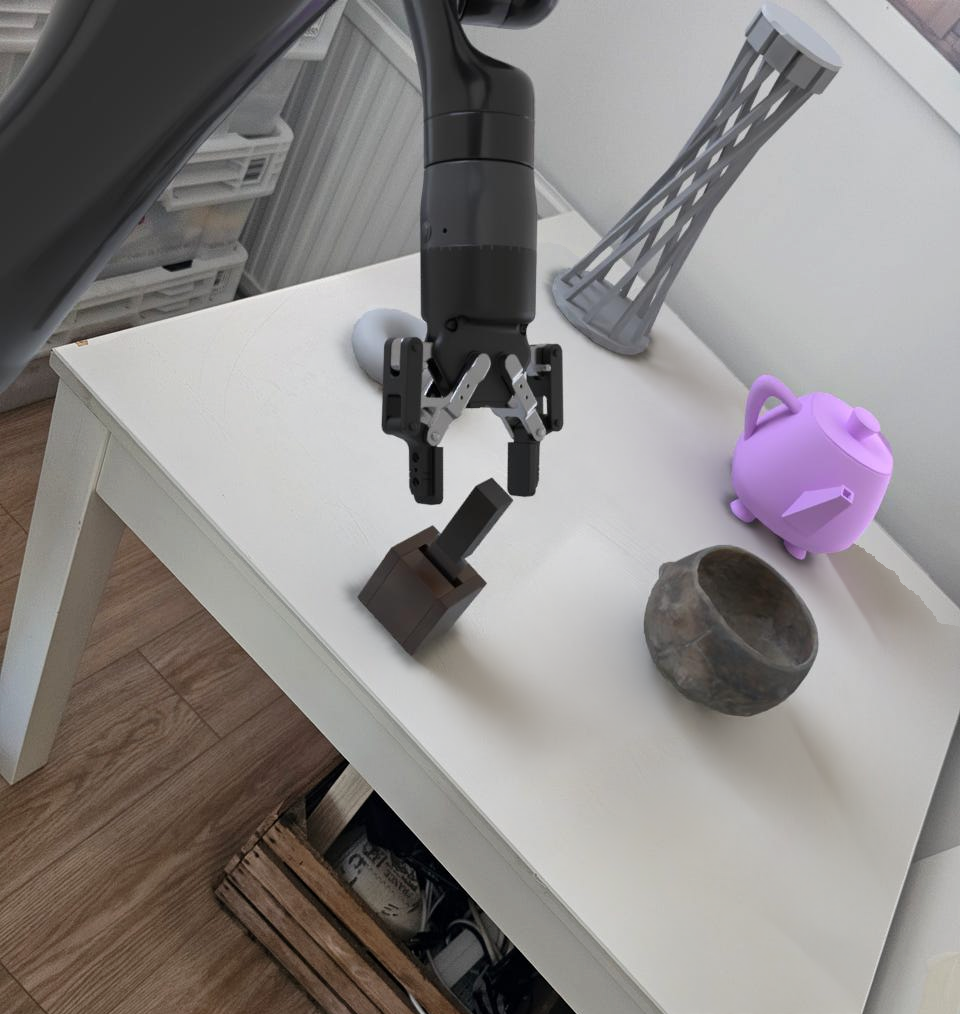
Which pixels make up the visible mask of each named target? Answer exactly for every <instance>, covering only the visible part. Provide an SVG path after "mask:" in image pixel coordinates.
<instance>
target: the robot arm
mask: <svg viewBox="0 0 960 1014" xmlns="http://www.w3.org/2000/svg"><path fill="white" fill-rule="evenodd" d="M339 1H340V0H53V2H52V5H51V8H50V11H49V13H48V16H47V19H46V21H45V23H44V25H43V27H42V30H41V31H40V34H39V35H38V38H37V41H36V42H35V45H34V47H33V49H32V50H31V52H30V54H29V56H28V57H27V59H26V60H25V62H24V64H23V66H22V67H21V69H20V71H19V72H18V73H17V75H16V77H15V78H14V79H13V81H12V82H11V84H9V86H8V87H7V89H6V90H5V91H4V93H2V96H1V97H0V396H1V395H2V394H3V393H4V392H5V391H7V389H8V388H9V387H10V386H11V385H12V384H13V382H14V381H15V380H16V379H17V378H18V377H19V375H20V374H21V373H22V372H23V371H24V370H25V369H26V367H27V366H28V365H29V364H30V362H32V361H33V359H34V358H35V356H37V354H38V352H40V351H41V349H42V348H43V347H44V346H45V344H46V343H47V341H48V340H49V339H50V338H51V337H52V335H53V334H54V333H55V332H56V330H57V329H58V328H59V327H60V325H61V324H62V323H63V321H65V319H66V318H67V316H68V315H69V314H70V312H71V311H72V310H73V308H74V307H75V306H76V305H77V303H78V302H79V301H80V299H81V298H82V297H83V295H84V294H85V293H86V292H87V290H88V289H89V288H90V286H91V285H92V284H93V283H94V281H95V280H96V279H97V277H98V276H99V275H100V274H101V272H102V271H103V270H104V268H105V267H106V266H107V265H108V264H109V262H110V261H111V259H112V258H113V257H114V256H115V254H116V253H117V252H118V251H119V249H120V248H121V247H122V246H123V244H124V243H125V242H126V240H127V239H128V238H129V237H130V235H131V234H132V232H133V231H134V230H135V229H136V228H137V226H138V225H139V223H141V222H142V219H143V218H144V217H145V216H146V215H147V213H148V212H149V211H150V209H152V207H153V205H155V203H156V202H157V201H158V199H159V198H160V197H161V195H162V194H163V193H164V192H165V190H166V189H167V188H168V187H169V186H170V184H171V183H172V181H174V179H175V178H176V177H177V175H178V174H179V173H180V172H181V171H182V170H183V168H184V167H185V166H186V164H187V163H189V161H190V160H191V159H192V157H193V156H194V155H195V154H196V152H197V151H198V150H199V149H200V148H201V147H202V145H204V144H205V142H206V141H207V140H208V139H209V138H210V137H211V136H212V135H213V134H214V132H216V130H217V129H218V128H219V127H220V126H221V125H222V123H224V121H225V120H226V119H227V118H228V117H229V116H230V115H231V114H232V113H233V111H234V110H235V109H237V107H238V106H240V104H241V103H242V101H244V99H245V98H246V97H247V96H248V95H249V94H250V93H251V92H252V91H253V90H254V89H255V87H257V85H259V83H260V82H261V81H262V80H263V79H264V78H265V77H266V76H267V74H268V73H269V72H270V71H271V70H272V69H273V68H274V67H275V66H276V65H277V64H278V63H279V62H280V60H282V58H283V57H284V56H285V55H286V54H288V52H290V50H291V49H292V48H293V47H294V46H295V45H296V44H297V43H298V42H299V41H300V40H301V39H302V38H303V37H304V35H305V34H306V33H308V31H310V29H311V28H312V27H314V26H315V24H316V23H317V22H319V20H320V19H322V18H323V16H325V14H327V12H328V11H329V10H331V9H332V7H334V6H335V5H336V4H337V3H338V2H339ZM400 2H401V5H402V9H403V13H404V16H405V20H406V22H407V26H408V31H409V34H410V38H411V41H412V47H413V50H414V55H415V56H414V57H415V60H416V61H415V62H416V65H417V71H418V75H419V76H418V77H419V83H420V88H421V89H420V90H421V96H422V113H423V114H422V116H423V117H422V118H423V121H422V122H423V127H422V129H423V131H422V133H423V169H424V170H423V177H422V178H423V179H422V190H421V196H420V205H419V247H420V248H419V258H420V261H419V264H420V265H419V266H420V267H419V270H420V279H419V280H420V317H421V320H422V321H423V322H424V323H426V324H427V334H426V338H425V340H424V342H422V341H421V339H419V338H418V337H402V338H389V339H387V340H386V342H385V344H384V362H383V385H382V393H381V394H382V396H381V430H382V432H383V433H384V434H385V435H387V436H394V437H395V438H398V439H400V440H403V441H404V442H405V443H406V445H407V447H408V478H409V479H408V488H409V491H410V494H411V495H412V496H413V499H414V502H415V503H416V504H419V505H427V506H437V505H442V503H443V501H444V446H439V445H440V444H441V442H442V440H443V439H444V437H445V435H446V434H447V431H448V430H449V428H450V426H451V424H452V423H453V421H455V420H456V419H458V418H460V417H461V415H462V414H463V412H464V410H465V409H481V408H483V409H490V410H491V412H492V413H493V415H494V416H496V417H498V418H499V419H500V420H501V422H502V424H503V426H504V427H505V429H506V431H507V433H508V435H509V437H510V438H511V439H512V440H513V441H508V442H507V466H506V467H507V472H506V473H507V477H506V478H507V479H506V480H507V481H506V490H507V494H508V495H509V496H511V497H512V496H513V497H521V498H528V497H529V498H530V497H533V496H535V494H536V492H537V488H538V485H539V482H540V455H541V452H540V451H541V442H542V441H543V440H544V439H545V437H546V436H548V435H550V434H551V433H552V432H554V433H555V432H557V433H558V432H561V431H562V430H563V427H564V424H565V423H564V373H563V372H564V368H563V367H564V365H563V364H564V362H563V359H564V358H563V348H562V346H561V344H559V343H537V344H536V343H535V344H529V340H528V335H527V331H528V330H527V329H528V327H529V325H530V324H531V323H533V322H534V320H535V319H536V313H537V267H538V266H537V263H538V261H537V260H538V252H537V251H538V200H537V192H536V182H535V179H536V178H535V147H536V146H535V145H536V143H535V142H536V91H535V90H536V89H535V85H534V82H533V80H532V78H531V77H530V75H529V74H528V73H527V72H525V70H523V69H521V68H520V67H518V66H516V65H514V64H511V63H509V62H506V61H504V60H501V59H499V58H497V57H493V56H491V55H489V54H487V53H485V52H483V51H481V50H479V49H478V48H477V47H476V46H474V45H473V44H472V42H471V41H470V39H469V38H468V35H467V33H466V32H465V31H464V30H465V29H464V28H463V26H473V27H485V28H494V29H495V28H496V29H503V30H514V31H520V30H528V29H531V28H533V27H536V26H537V25H539V24H541V23H543V22H544V21H545V20H546V19H547V18H549V16H550V15H551V14H552V13H553V12H555V10H556V9H557V7H558V4H559V3H560V0H400ZM462 25H463V26H462ZM424 369H428V371H429V373H430V375H431V376H430V378H429V380H428V381H427V383H426V385H425V387H424V388H423V390H422V373H423V371H424ZM525 374H526V375H525ZM544 397H545V399H546V413H544Z"/></svg>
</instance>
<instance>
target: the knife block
mask: <svg viewBox="0 0 960 1014" xmlns="http://www.w3.org/2000/svg"><path fill="white" fill-rule="evenodd" d="M439 533H441V532H440V531H439V529H437V527H435V525H433V524H431V525H430V526H428V527H426V528H425V529H422V530H421V531H419V532H417V533H415V534H413V535H411V536H410V537H408V538H406V539H404V540H402V541H400V542H398V543H397V544H395V545H393V546H391V547H390V549H388V552H386V554H385V556H384V557H383V559H382V560H381V561H380V563H379V564H378V566H377V567H376V569H375V570H374V571H373V573H372V574H371V576H370V578H369V579H368V581H367V582H366V584H365V585H364V586H363V588H362V589H361V590H360V592H359V594H358V595H357V599H358V600H359V601H360V602H361V603H362V604H363V605H364V606H365V607H366V608H367V609H368V610H369V612H370V613H371V614H372V615H373V616H374V617H375V618H376V619H377V621H378V622H379V623H380V624H381V625H382V627H384V628H385V629H386V630H387V632H389V633H390V634H391V636H392V637H393V638H394V639H395V640H396V641H397V643H399V644H400V646H402V648H404V650H405V651H406V652H407V653H408V654H409V655H410V656H412V655H414V654H415V653H417V652H419V650H421V649H423V648H425V646H427V645H429V644H430V643H432V642H433V641H435V640H436V639H438V638H439V637H440V636H442V635H443V634H446V632H448V631H450V630H451V629H452V627H453V626H454V625H455V624H456V622H457V621H458V620H459V619H460V617H462V615H463V614H464V613H465V611H466V610H467V609H468V608H469V606H470V605H471V604H472V603H473V601H474V600H475V599H476V598H477V597H478V596H479V594H480V593H481V592H482V591H483V590H484V588H485V587H486V586H487V584H488V582H487V581H486V580H485V579H484V578H483V577H482V576H481V574H479V573H478V571H477V570H476V569H475V568H474V567H473V566H472V565H471V564H470V563H469V562H468V564H467V566H466V567H465V568H464V569H463V571H462V572H461V573H460V575H459V576H458V577H457V578H456V580H455V581H454V582H453V584H452V585H451V584H450V583H449V581H448V580H447V579H446V578H445V577H444V576H443V575H442V574H441V573H440V572H439V571H438V570H437V569H436V568H435V566H434V565H433V564H432V563H431V562H430V561H429V560H428V559H427V558H426V557H425V556H424V555H423V554H424V552H425V551H426V550H427V548H428V547H429V546H430V544H431V543H432V541H433V540H434V539H435V537H436V536H437V534H439Z"/></svg>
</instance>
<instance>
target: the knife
mask: <svg viewBox="0 0 960 1014" xmlns="http://www.w3.org/2000/svg"><path fill="white" fill-rule="evenodd" d="M513 502H514V499H513V498H512V496H511V495H510V494H509V493H508V492H507V491H506V490H505V489H504V488H503V487H502V486H501V485H500V484H499V483H498V482H497V481H496V480H495V479H494V477H489V478H488V479H486V480H483V481H482V482H480V483H478V484H476V485H475V486H474V487H473V489H472V490H471V491H470V493H469V494H468V496H467V497H466V498H465V500H463V502H462V503H461V505H460V507H458V509H457V511H456V512H455V513H454V515H453V516H452V517H451V519H450V520H449V522H448V523H447V525H446V526H445V527H444V528H443V529H442V531H441V532H440V533H439V534H437V536H436V537H435V539H434V540H433V541H432V543H431V544H430V546H429V547H428V548H427V550H426V551H425V552H424V554H423V555H424V556H425V557H426V558H427V559H428V560H429V561H430V562H431V563H432V564H433V565H434V566H435V568H436V569H437V570H438V571H439V572H440V573H441V574H442V575H443V576H444V577H445V578H446V579H447V580H448V581H449V583H450V584H451V585H452V584H453V582H454V581H455V580H456V578H457V577H458V576H459V575H460V573H461V572H462V571H463V569H464V568H465V567H466V566H467V564H468V563H469V562H468V560H466V558H469V557H470V556H472V555H473V553H475V552H476V550H477V548H478V547H479V546H480V544H481V543H482V542H483V540H484V539H485V538H486V537H487V536H488V534H489V533H490V532H491V530H493V528H494V527H495V525H496V524H497V522H498V521H499V520H500V519H501V518H502V516H503V515H504V513H505V512H506V511H507V510H508V509H509V507H510V506H511V504H512V503H513Z"/></svg>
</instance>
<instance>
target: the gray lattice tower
mask: <svg viewBox="0 0 960 1014" xmlns="http://www.w3.org/2000/svg"><path fill="white" fill-rule="evenodd" d="M744 37H745V40H744V43H743V45H742V46H741V48H740V50H739V53H738V54H737V57H736V58H735V60H734V63H733V65H732V66H731V69H730V70H729V72H728V75H727V77H726V79H725V81H724V83H723V85H722V87H721V88H720V91H719V93H718V95H717V97H716V98H715V99H714V101H713V102H712V104H711V106H709V108H708V109H707V111H706V113H705V114H704V116H703V117H702V118H701V120H700V121H699V123H698V125H697V126H696V127H695V129H694V130H693V132H692V133H691V135H690V136H689V138H688V139H687V141H686V142H685V143H684V145H683V147H682V148H681V150H680V151H679V152H678V154H677V155H676V157H675V158H674V160H673V161H672V163H671V164H670V166H669V167H668V168H667V170H666V171H665V172H664V173H663V174H662V175H661V176H660V177H659V178H658V179H657V180H656V181H655V182H654V184H653V185H652V186H651V187H649V188H648V190H647V191H646V192H645V193H644V194H643V195H642V196H641V197H640V198H639V199H638V200H637V202H636V203H635V204H634V205H633V206H632V207H630V209H629V210H628V211H627V212H626V213H625V214H624V215H623V217H621V219H619V221H618V222H617V223H616V224H615V225H614V226H613V227H612V228H611V229H610V230H609V231H608V232H607V233H606V234H605V236H603V238H601V239H600V241H599V242H598V243H597V244H596V245H595V246H594V247H593V248H592V249H591V250H590V251H589V252H588V253H587V254H586V255H584V257H582V258H581V259H580V260H578V261H577V263H576V264H574V265H573V266H572V267H570V268H569V267H568V268H563V269H561V270H560V271H559V273H558V274H557V275H556V277H555V280H554V281H553V285H552V287H551V294H552V296H553V299H554V301H555V303H556V306H557V308H558V309H559V310H560V311H561V313H562V314H563V315H564V317H565V318H566V319H567V321H568V322H569V323H570V324H571V325H573V326H574V327H576V329H578V330H579V331H580V332H581V333H582V334H583V335H585V336H586V337H587V338H588V339H590V340H591V341H592V342H594V343H595V344H596V345H599V346H601V347H603V348H605V349H607V350H610V351H611V352H613V353H615V354H621V355H627V356H634V355H638V354H641V353H644V351H645V350H646V349H647V347H648V346H649V344H650V342H651V340H652V339H653V337H652V332H651V331H652V328H653V326H654V324H655V322H656V320H657V317H658V315H659V313H660V311H661V308H662V307H663V304H664V302H665V300H666V297H667V295H668V293H669V291H670V289H671V288H672V286H673V284H674V282H675V280H676V278H677V277H678V275H679V273H680V272H681V269H682V268H683V265H684V264H685V262H686V261H687V259H688V257H689V255H690V253H691V251H692V250H693V248H694V246H695V245H696V242H697V241H698V239H699V237H700V236H701V233H702V232H703V230H704V229H705V227H706V225H707V223H708V221H709V219H710V218H711V216H712V214H713V213H714V210H715V209H716V208H717V206H718V204H719V203H721V201H722V200H723V198H724V197H725V196H726V194H727V193H728V191H729V190H730V189H731V188H732V186H733V185H734V183H736V181H737V180H738V178H739V177H740V176H741V174H742V173H743V172H744V170H745V169H746V168H747V166H748V165H749V164H750V163H751V161H752V160H753V158H754V157H755V156H756V155H757V153H758V152H759V151H760V149H761V148H762V147H763V146H764V145H765V144H766V143H767V142H768V141H769V140H770V139H771V138H772V137H773V136H774V135H775V134H776V133H777V132H778V131H779V130H780V129H781V128H782V127H783V126H784V125H785V123H787V122H788V120H790V119H791V118H792V117H793V115H795V114H796V113H797V111H798V110H799V109H800V108H801V107H803V106H804V105H805V103H806V102H807V101H808V100H810V99H811V98H812V97H813V95H814V94H815V95H819V96H820V95H823V93H824V92H825V90H826V89H827V88H828V87H829V85H830V84H831V82H832V81H833V80H834V78H835V77H836V76H837V75H838V73H839V72H840V71H841V69H842V68H843V66H844V63H843V60H842V57H841V56H840V55H839V54H838V53H837V51H836V50H835V49H834V47H833V46H832V45H831V44H830V43H829V42H828V41H827V40H826V39H825V38H824V37H823V36H822V35H821V34H819V33H818V32H817V30H815V29H814V28H813V27H811V26H810V25H809V24H808V23H807V22H805V21H804V20H802V19H801V18H800V17H799V16H797V15H796V14H795V13H794V12H792V11H791V10H789V9H787V8H785V7H783V6H782V5H780V4H778V3H776V2H774V1H770V0H765V1H763V3H762V4H761V6H760V8H759V9H758V11H757V12H756V13H755V15H754V17H753V18H752V19H751V21H750V22H749V24H748V25H747V26H746V28H745V30H744ZM760 56H762V57H761V58H762V59H761V61H760V63H759V66H758V68H757V70H756V72H755V75H754V77H753V79H752V80H751V81H750V82H749V83H748V84H747V85H746V86H745V87H744V84H745V82H746V80H747V77H748V75H749V73H750V71H751V68H752V67H753V65H755V63H756V62H757V60H758V58H759V57H760ZM775 71H776V72H777V73H779V74H778V77H777V78H776V80H775V81H774V83H773V85H772V87H771V89H770V91H769V92H768V94H767V95H766V96H765V97H764V98H763V99H762V100H761V101H759V103H757V104H756V105H755V106H754V107H752V106H753V105H754V102H755V100H756V98H757V96H758V93H759V91H760V89H761V87H762V85H763V83H764V82H765V81H766V80H767V79H768V78H769V77H770V76H771V75H772V74H773V73H774V72H775ZM743 87H744V89H743ZM742 89H743V90H742ZM784 96H785V97H784ZM783 97H784V98H783ZM782 98H783V99H782ZM781 99H782V100H781ZM780 100H781V102H780V103H779V105H778V106H777V107H776V108H775V110H774V111H773V112H772V113H771V114H770V115H769V116H768V114H769V112H770V111H771V109H772V107H773V106H774V105H775V104H776V103H778V102H779V101H780ZM738 109H739V111H738ZM736 111H738V114H737V115H736V118H735V120H734V121H733V125H732V126H731V127H729V129H728V130H727V131H725V129H726V126H727V124H728V122H729V120H730V118H731V117H733V115H734V114H735V112H736ZM748 127H749V128H748ZM747 128H748V130H747V132H746V133H745V135H744V137H743V138H742V139H741V140H740V141H738V143H736V142H737V140H738V138H739V136H740V134H741V133H742V132H744V131H745V130H746V129H747ZM724 131H725V132H724ZM706 143H707V144H706ZM705 144H706V147H705V148H704V149H705V150H704V151H702V153H701V154H699V152H700V150H701V149H702V147H703V146H704V145H705ZM720 151H721V152H720ZM719 152H720V155H719V157H718V159H717V161H715V163H713V164H712V165H711V163H712V160H713V157H714V156H716V155H717V154H718V153H719ZM698 154H699V155H698ZM710 165H711V166H710ZM724 170H725V171H724ZM723 171H724V173H723ZM693 175H694V176H693ZM692 176H693V177H692ZM690 177H692V180H691V183H690V184H689V185H688V186H687V187H686V188H684V190H682V191H681V192H680V190H681V188H682V186H683V184H684V183H685V182H686V181H687V180H688V179H689V178H690ZM704 187H705V188H704ZM702 188H704V191H703V193H702V195H701V196H700V197H699V198H698V200H696V198H697V195H698V193H699V191H700V190H701V189H702ZM679 192H680V193H679ZM664 199H666V200H665V202H664V204H663V205H662V207H661V209H660V210H659V211H658V212H657V213H656V214H655V215H654V216H652V217H651V218H650V219H649V220H648V221H647V222H645V221H646V219H647V218H648V217H649V215H650V213H651V212H652V211H653V209H654V208H656V206H658V205H660V203H661V202H663V200H664ZM695 200H696V201H695ZM679 208H680V209H679ZM678 209H679V211H678V213H677V216H676V219H675V221H674V223H673V225H672V226H671V227H670V228H669V229H668V230H667V231H666V232H665V233H664V234H663V235H662V236H661V237H660V238H659V239H658V240H657V241H656V242H655V240H656V239H657V236H658V234H659V232H660V230H661V228H662V226H663V224H664V222H665V220H667V219H668V218H669V217H670V216H671V215H672V214H673V213H675V212H676V211H677V210H678ZM690 220H691V221H690ZM689 221H690V223H689V224H688V222H689ZM644 222H645V223H644ZM643 223H644V225H643ZM686 224H688V227H686V230H684V232H683V233H682V231H683V228H684V227H685V225H686ZM681 233H682V235H681ZM680 235H681V236H680ZM646 237H647V238H646ZM619 238H620V239H619ZM645 238H646V240H645V242H644V244H643V246H642V248H641V250H640V252H639V254H638V256H637V258H636V260H635V262H634V263H633V266H632V267H631V268H630V269H629V270H628V271H626V273H625V274H624V275H623V276H622V277H621V278H620V279H619V280H618V281H617V282H616V283H615V284H613V283H612V282H611V281H609V280H607V279H606V277H607V275H608V274H609V272H610V271H611V270H612V268H613V266H614V265H615V264H616V263H617V262H619V260H621V259H622V258H623V257H624V256H625V255H626V254H627V253H629V251H631V250H632V249H633V248H634V247H635V246H636V245H638V244H639V243H640V242H641V241H642V240H643V239H645ZM618 239H619V240H618ZM617 240H618V242H617V243H616V245H615V247H614V248H613V249H612V251H611V252H610V254H608V255H607V257H605V258H604V259H603V260H602V261H600V263H598V264H597V265H596V266H595V267H594V268H593V269H591V270H590V271H589V270H587V269H588V268H589V266H590V265H591V264H593V262H594V261H596V259H597V258H598V257H599V256H600V255H601V254H602V253H603V252H604V251H605V250H607V249H608V248H610V246H611V245H613V244H614V243H615V242H616V241H617ZM662 249H663V250H662ZM660 250H662V252H661V255H660V257H659V259H658V262H657V264H656V266H655V269H654V272H653V273H652V275H651V276H650V277H649V278H648V280H647V281H646V283H645V284H644V285H643V287H642V288H641V290H640V291H639V292H638V294H637V295H636V297H635V298H633V299H631V298H630V297H629V296H628V295H629V293H630V291H631V289H632V286H633V284H634V282H635V281H636V278H637V276H638V275H639V273H640V271H641V270H642V269H643V268H644V267H645V266H646V265H647V264H648V263H649V262H650V261H651V260H652V259H653V258H654V257H655V256H656V255H657V254H658V253H659V252H660ZM667 272H668V273H667ZM665 275H666V276H665ZM664 277H665V278H664ZM663 278H664V280H663ZM662 280H663V282H662V283H661V281H662ZM660 283H661V285H660ZM659 285H660V286H659ZM658 287H659V288H658ZM657 289H658V290H657ZM656 291H657V292H656Z"/></svg>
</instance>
